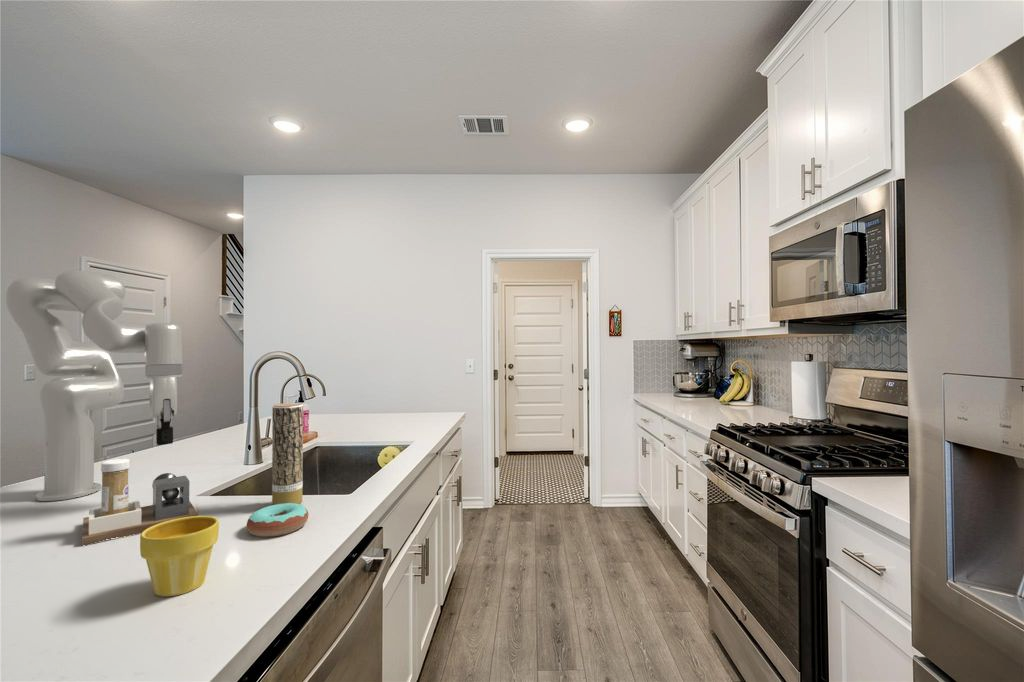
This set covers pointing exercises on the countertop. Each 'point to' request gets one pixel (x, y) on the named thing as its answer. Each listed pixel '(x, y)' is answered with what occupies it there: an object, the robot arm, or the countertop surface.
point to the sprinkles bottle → (114, 486)
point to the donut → (277, 520)
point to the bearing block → (173, 507)
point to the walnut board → (146, 523)
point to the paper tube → (287, 453)
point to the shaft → (169, 493)
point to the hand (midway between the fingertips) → (164, 443)
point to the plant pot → (179, 553)
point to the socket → (114, 519)
